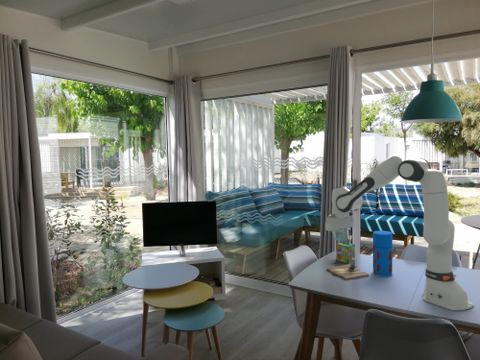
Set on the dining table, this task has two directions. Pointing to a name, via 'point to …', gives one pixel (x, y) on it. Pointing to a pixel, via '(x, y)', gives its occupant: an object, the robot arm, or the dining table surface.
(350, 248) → the chalk box
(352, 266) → the metal door knob
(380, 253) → the thermos
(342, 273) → the board
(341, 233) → the rotary switch
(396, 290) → the dining table surface
